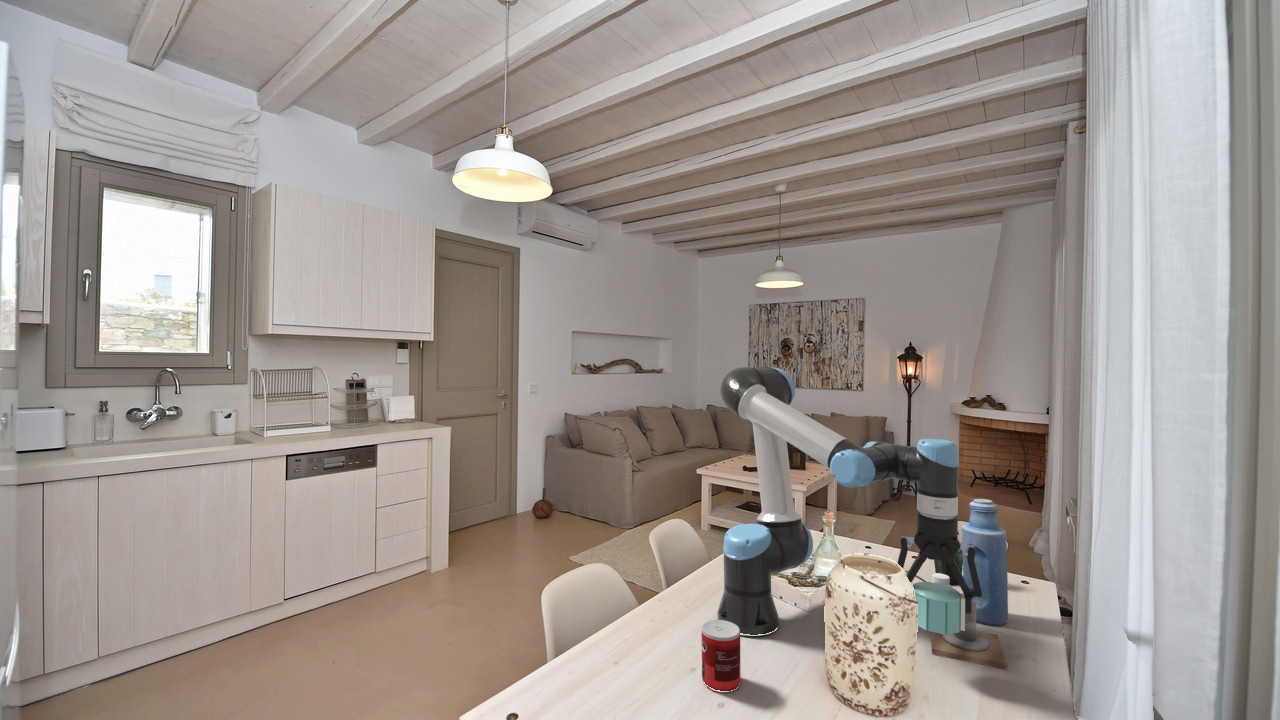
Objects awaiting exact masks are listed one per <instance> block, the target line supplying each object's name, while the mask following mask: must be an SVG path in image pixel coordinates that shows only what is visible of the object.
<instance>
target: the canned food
mask: <svg viewBox="0 0 1280 720" xmlns="http://www.w3.org/2000/svg"><path fill="white" fill-rule="evenodd" d="M701 678H702V682H703V681H704V682H705V684H706V685H708V686H709V687H711V688H713V689H715V690H720V691H731V690H734V689H736V688H737V687H738V686H739V687H740V685H739V684H741V635H740V629H739V627H738V626H737V625H735V624H734V623H731V622H728V621H724V620H718V619H713V620H712V619H711V620H708V621H706V622H703V624H702V626H701ZM704 682H703V683H704ZM705 684H704V685H705ZM739 687H738V688H739ZM738 688H737V689H738ZM737 689H736V690H737Z"/></svg>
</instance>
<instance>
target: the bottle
mask: <svg viewBox="0 0 1280 720" xmlns="http://www.w3.org/2000/svg"><path fill="white" fill-rule="evenodd" d="M968 506H969V508H970V509H969V512H970V514H969V520H968V523H965V524H963V525H962V526H961V544H965V545H969V544H972V545H973V546H974V548H975V557H974V562H975V566H976V570H977V574H978V579H979V583H980V587H981V592H982V597H973V598H972V601H974V602H975V603H976V623H979V624H983V625H987V626H992V627H996V626H1005V625H1007V624H1008V622H1009V600H1008V599H1009V597H1008V595H1009V591H1008V589H1009V587H1008V585H1009V584H1008V579H1009V578H1008V544H1007V543H1008V540H1007V539H1008V538H1007V537H1008V536H1007V535H1008V534H1007V531H1006V530H1005V529H1004V528H1002V527H1000V526H999V525H1000V524H999V519H998V506H997V505H996V504H995V503H994V502H993V500H991V499H986V498H975V499H973V501H971V502H970V503H969V504H968ZM962 553H963V552H962ZM962 575H963V577H964V579H965V581H966V583H967V585H968V587H969V589H971V588H973V584H972V579H971V575H970V571H969V566H968V562H967V557H966V556H965V555H964V554H963V567H962Z"/></svg>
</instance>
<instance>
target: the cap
mask: <svg viewBox="0 0 1280 720" xmlns="http://www.w3.org/2000/svg"><path fill="white" fill-rule="evenodd" d="M912 585H913V587H914V590H915V597H916V601H917V602H918V625H917V627H920V628H922V630H924V631H928V632H935V633H940V634H945V633H946V634H947V635H948V634H953V633H958V632H960V599H961V594H960V593H961V592H960V591H958V589H955V588H954V587H953V586H952V587H949V586H947V585H943V584H939V583H934V582H933V581H918V582H915V583H913V584H912Z"/></svg>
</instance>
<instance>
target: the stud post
mask: <svg viewBox="0 0 1280 720" xmlns="http://www.w3.org/2000/svg"><path fill="white" fill-rule="evenodd" d="M929 632H930V631H929ZM929 634H930V645H931V646H930V647H931V655H934V656H940V657H945V658H949V659H955V660H959V661H965V662H968V663H969V662H970V663H975V664H978V665H979V664H980V665H984V666H988V667H989V666H990V667H995V668H998V669H999V668H1000V669H1005V670H1008V665H1007V664H1008V663H1007V660H1006V657H1005V654H1004V651H1003V648H1002V645H1001V642H1000V639H999V636H998V634H996V633H991V632H986V631H981V630H980V631H979V630H977V622H976V603H975V602H974V601H972V600H971V613H970V614H968V613H965V631H963V630H960V632H958V633H953V634H948V635H947V634H946V633H945V634H940V633H935V632H930V633H929Z"/></svg>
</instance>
